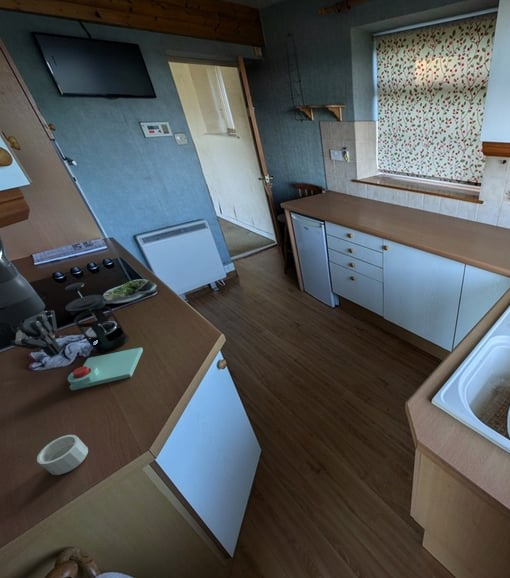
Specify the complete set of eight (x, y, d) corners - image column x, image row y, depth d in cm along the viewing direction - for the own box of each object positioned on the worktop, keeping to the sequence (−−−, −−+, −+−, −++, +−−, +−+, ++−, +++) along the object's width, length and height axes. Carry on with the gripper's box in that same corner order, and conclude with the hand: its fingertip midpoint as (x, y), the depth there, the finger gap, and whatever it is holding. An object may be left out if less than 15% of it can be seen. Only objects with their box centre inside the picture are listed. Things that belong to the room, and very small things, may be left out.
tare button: (73, 379, 82) (70, 375, 81) (78, 371, 85) (75, 367, 84) (87, 376, 83) (84, 372, 82) (92, 368, 86) (89, 364, 85)
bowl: (44, 480, 62) (29, 468, 60) (59, 452, 68) (47, 440, 65) (81, 469, 64) (69, 457, 62) (94, 443, 70) (83, 430, 67)
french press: (128, 346, 97) (93, 288, 85) (91, 358, 92) (48, 298, 80) (128, 328, 105) (96, 272, 93) (94, 338, 100) (55, 281, 88)
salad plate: (112, 313, 112) (106, 303, 110) (91, 300, 120) (85, 290, 117) (164, 290, 127) (160, 281, 124) (143, 280, 134) (138, 271, 132)
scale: (69, 391, 82) (63, 384, 80) (88, 361, 91) (83, 354, 90) (131, 377, 86) (126, 370, 85) (143, 350, 96) (139, 343, 94)
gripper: (6, 285, 69) (50, 340, 78) (-36, 317, 58) (20, 376, 68) (47, 279, 71) (85, 333, 80) (14, 309, 61) (62, 367, 70)
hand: (55, 353), depth 74 cm, fingers closed
